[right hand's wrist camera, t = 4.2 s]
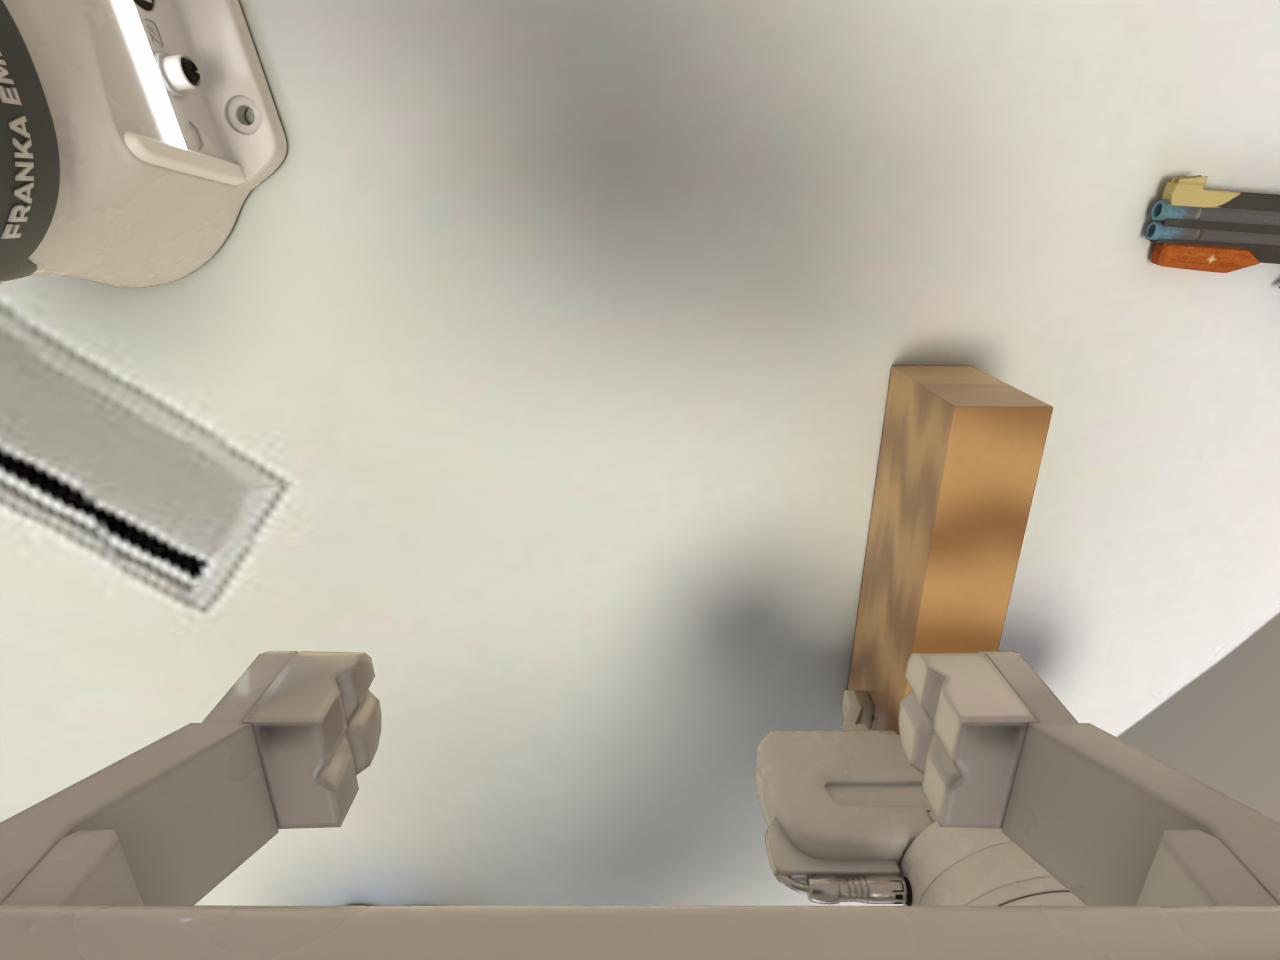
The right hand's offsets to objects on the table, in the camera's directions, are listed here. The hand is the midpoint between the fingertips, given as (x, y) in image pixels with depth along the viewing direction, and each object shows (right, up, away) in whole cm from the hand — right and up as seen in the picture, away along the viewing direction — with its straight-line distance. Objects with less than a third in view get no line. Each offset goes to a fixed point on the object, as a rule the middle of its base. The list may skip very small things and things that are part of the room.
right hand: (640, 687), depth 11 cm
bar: (+16, -2, +34) cm, 38 cm away
